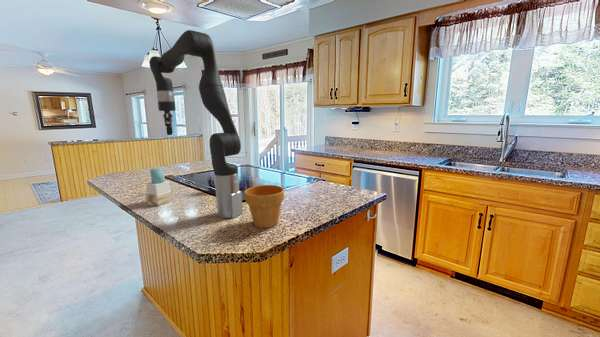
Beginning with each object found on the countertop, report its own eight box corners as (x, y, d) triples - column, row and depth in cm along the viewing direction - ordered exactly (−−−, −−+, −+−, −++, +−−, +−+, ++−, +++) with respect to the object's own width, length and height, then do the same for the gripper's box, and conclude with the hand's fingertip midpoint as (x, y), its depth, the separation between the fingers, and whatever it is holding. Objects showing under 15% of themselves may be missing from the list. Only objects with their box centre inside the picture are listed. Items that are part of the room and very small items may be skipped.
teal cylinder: (166, 181, 131) (164, 169, 129) (156, 184, 126) (154, 171, 125) (159, 180, 133) (157, 168, 132) (149, 183, 129) (147, 170, 127)
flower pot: (238, 226, 103) (236, 192, 100) (262, 213, 115) (261, 183, 112) (269, 234, 96) (268, 198, 93) (292, 220, 108) (291, 187, 105)
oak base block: (173, 201, 133) (172, 191, 132) (158, 206, 126) (157, 196, 125) (162, 199, 137) (161, 189, 136) (147, 204, 130) (145, 194, 129)
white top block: (170, 191, 132) (169, 181, 131) (157, 195, 126) (155, 185, 125) (161, 189, 135) (159, 179, 134) (147, 193, 129) (145, 183, 128)
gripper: (174, 100, 131) (178, 135, 135) (175, 100, 144) (178, 132, 148) (156, 100, 128) (160, 136, 132) (158, 101, 141) (162, 133, 145)
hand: (170, 134), depth 140 cm, fingers open, 8 cm apart
